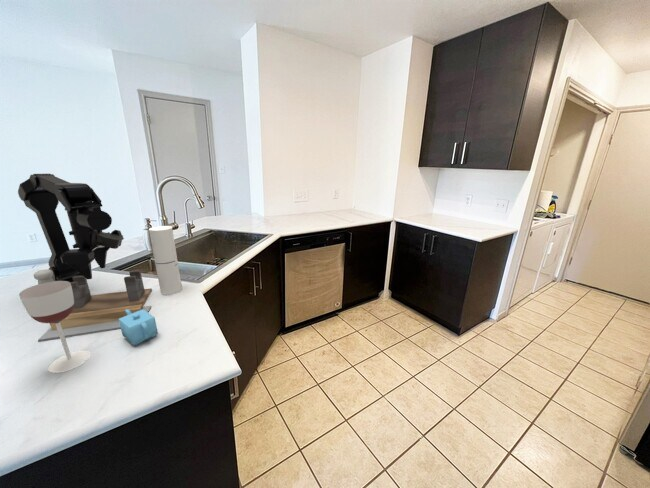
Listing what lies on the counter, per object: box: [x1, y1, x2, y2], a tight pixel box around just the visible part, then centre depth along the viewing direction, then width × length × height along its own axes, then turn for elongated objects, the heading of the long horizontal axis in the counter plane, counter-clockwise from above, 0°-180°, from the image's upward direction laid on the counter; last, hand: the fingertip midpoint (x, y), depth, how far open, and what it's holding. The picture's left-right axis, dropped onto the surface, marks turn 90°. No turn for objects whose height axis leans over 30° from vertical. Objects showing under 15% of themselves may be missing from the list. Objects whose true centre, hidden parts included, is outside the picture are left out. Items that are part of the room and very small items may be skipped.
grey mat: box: [37, 305, 152, 343], centre depth 78 cm, size 11×24×1 cm, turn 110°
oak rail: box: [49, 304, 144, 330], centre depth 78 cm, size 3×22×3 cm, turn 110°
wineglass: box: [18, 281, 91, 374], centre depth 60 cm, size 8×9×20 cm
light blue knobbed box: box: [119, 309, 159, 346], centre depth 72 cm, size 12×6×8 cm, turn 56°
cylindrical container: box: [148, 225, 183, 296], centre depth 95 cm, size 7×7×25 cm
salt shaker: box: [33, 269, 54, 285], centre depth 85 cm, size 6×6×13 cm
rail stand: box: [70, 269, 153, 314], centre depth 88 cm, size 12×22×10 cm, turn 110°
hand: (96, 273), depth 82 cm, fingers open, 9 cm apart
